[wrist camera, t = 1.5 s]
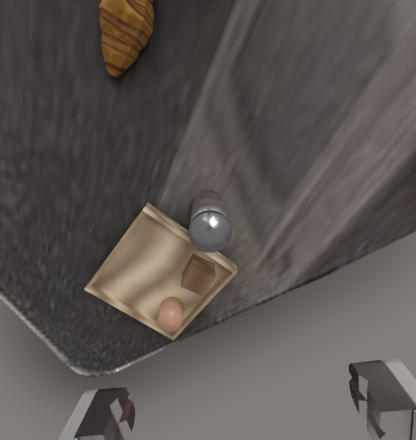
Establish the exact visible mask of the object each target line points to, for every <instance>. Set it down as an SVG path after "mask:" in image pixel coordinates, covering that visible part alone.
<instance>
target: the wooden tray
mask: <svg viewBox="0 0 416 440" xmlns="http://www.w3.org/2000/svg"><path fill="white" fill-rule="evenodd" d="M193 254H195V255H197V256H199V257H202V258H204V259H206V260H208V261H210V262H212V263H214V264H215V273H216V278H215V279H214V281H213V282H212V284H211V286H210V287H209V289H208V290H207V292H206V293H205V295H204V296H201V295H199V294H197V293H194V292H192V291H190V290H187V289H185V288H183V287H181V280H182V273H183V271H184V269H185V267H186V266H187V264H188V262H189V260H190V259H191V257H192V255H193ZM237 272H238V271H237V267H236V264H235V263H233V262H232V261H230V260H229V259H227V258H226V257H225V256H223V255H222V254H220V253H219V252H214V253H206V252H202V251H200V250H198V249H196V248H195V247H194V246H193V245H192V243H191V242H190V239H189V235H188V230H186V229H185V228H183V227H182V226H181V225H179V224H178V223H176V222H175V221H174V220H172V219H171V218H169V217H168V216H166V215H165V214H164V213H162V212H161V211H159V210H158V209H156V208H155V207H154V206H152V205H151V204H149V203H147V204H146V206H145V207H144V208H143V210H142V211H141V213H140V214H139V215H138V217H137V218H136V219H135V221H134V222H133V223H132V225H131V226H130V228H129V229H128V230H127V232H126V233H125V234H124V236H123V237H122V238H121V240H120V241H119V243H118V244H117V245H116V247H115V248H114V249H113V251H112V252H111V254H110V255H109V256H108V258H107V259H106V260H105V262H104V263H103V264H102V266H101V267H100V269H99V270H98V271H97V273H96V274H95V275H94V277H93V278H92V279H91V281H90V282H89V284H88V285H87V286H86V288H85V289H84V290H86V291H87V292H89V293H91V294H93V295H94V296H96V297H98V298H100V299H101V300H103V301H105V302H107V303H109V304H110V305H112V306H114V307H116V308H117V309H119V310H121V311H123V312H124V313H126V314H128V315H130V316H131V317H133V318H135V319H137V320H138V321H140V322H142V323H144V324H146V325H147V326H149V327H151V328H153V329H154V330H156V331H158V332H160V333H161V334H163V335H165V336H167V337H168V338H170V339H172V340H174V339H175V338H176V337H177V336H178V335H179V334H180V333H181V332H182V330H183V329H184V328H185V327H186V326H187V325H188V324H189V323H190V322H191V321H192V320H193V319H194V318H195V317H196V316H197V315H198V314H199V313H200V311H201V310H202V309H203V308H204V307H205V306H206V305H207V304H208V303H209V302H210V301H211V300H212V299H213V298H214V297H215V296H216V295H217V294H218V292H219V291H220V290H221V289H222V288H223V287H224V286H225V285H226V284H227V283H228V282H229V281H230V280H231V279H232V278H233V277H234V276H235V275H236V273H237ZM167 297H177V298H179V299H180V300H181V301H182V302H183V315H182V324H181V327H180V328H179V329H178V330H176V331H173V332H166V331H163V330H162V329H160V328H159V326H158V324H157V319H158V315H159V311H160V306H161V303H162V301H163V300H164V299H165V298H167Z"/></svg>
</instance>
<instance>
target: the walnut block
mask: <svg viewBox="0 0 416 440" xmlns="http://www.w3.org/2000/svg"><path fill="white" fill-rule="evenodd" d="M215 278H216V273H215V264H214V263H212V262H210V261H208V260H206V259H204V258H202V257H199V256H197V255H195V254H193V255H192V257H191V259H190V260H189V262H188V264H187V266H186V267H185V269H184V271H183V273H182V280H181V287H183V288H185V289H187V290H190V291H192V292H194V293H197V294H199V295H201V296H204V295H205V293H206V292H207V290H208V289H209V287H210V286H211V284H212V282H213V281H214V279H215Z"/></svg>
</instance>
